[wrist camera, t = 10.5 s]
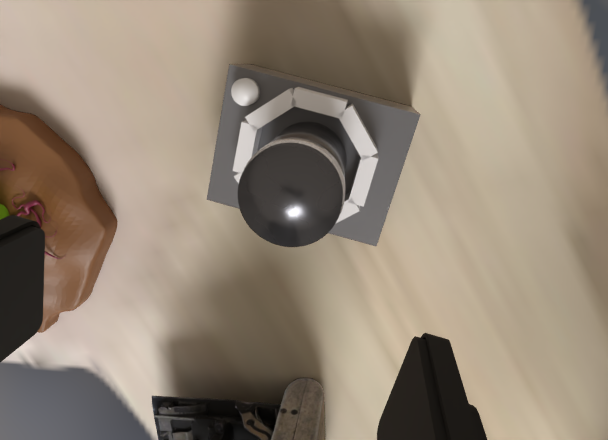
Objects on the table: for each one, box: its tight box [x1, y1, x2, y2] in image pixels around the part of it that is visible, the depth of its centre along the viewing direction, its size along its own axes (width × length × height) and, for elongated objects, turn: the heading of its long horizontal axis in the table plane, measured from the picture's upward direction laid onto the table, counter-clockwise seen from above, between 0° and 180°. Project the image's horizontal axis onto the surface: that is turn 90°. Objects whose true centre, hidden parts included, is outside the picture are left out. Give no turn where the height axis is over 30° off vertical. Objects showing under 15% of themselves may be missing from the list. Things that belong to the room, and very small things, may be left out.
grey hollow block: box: [207, 64, 420, 246], centre depth 30 cm, size 12×9×6 cm
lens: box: [238, 122, 347, 247], centre depth 24 cm, size 5×5×8 cm
